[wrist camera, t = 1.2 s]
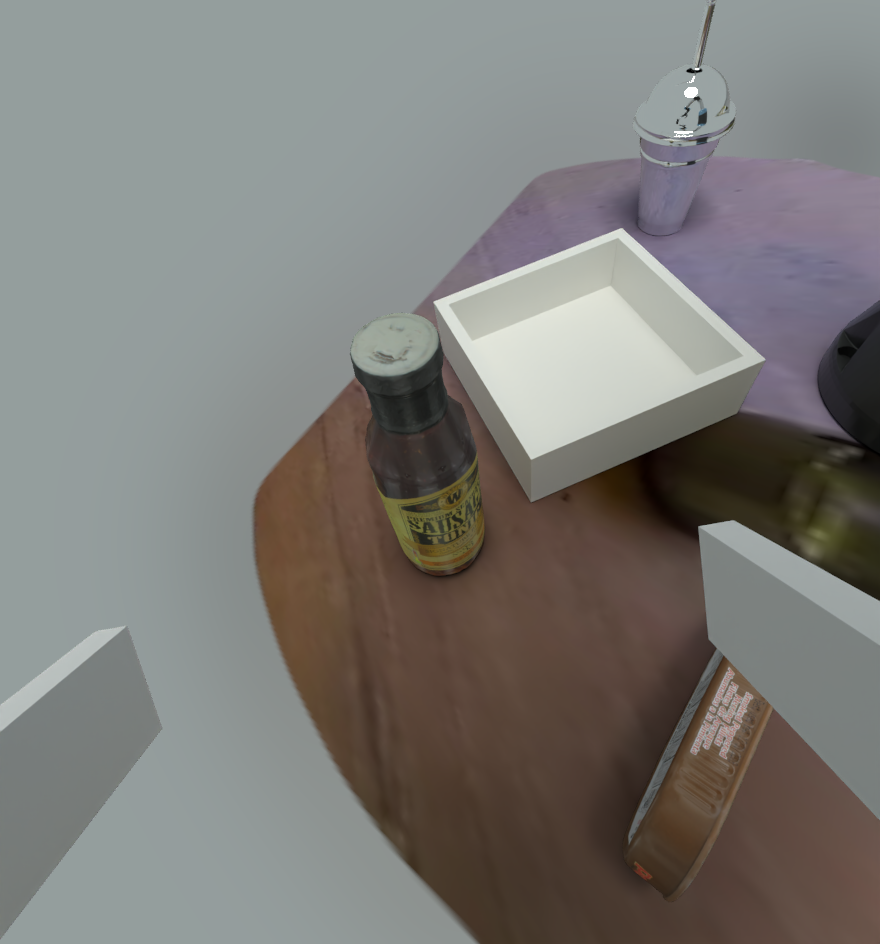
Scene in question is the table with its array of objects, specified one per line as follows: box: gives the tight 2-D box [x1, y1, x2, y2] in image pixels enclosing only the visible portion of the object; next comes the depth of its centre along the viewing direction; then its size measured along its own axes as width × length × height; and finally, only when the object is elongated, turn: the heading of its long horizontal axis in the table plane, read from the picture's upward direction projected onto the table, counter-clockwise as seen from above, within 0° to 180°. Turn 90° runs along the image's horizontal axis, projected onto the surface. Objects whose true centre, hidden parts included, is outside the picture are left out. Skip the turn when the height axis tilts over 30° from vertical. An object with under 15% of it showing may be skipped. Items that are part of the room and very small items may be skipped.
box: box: [434, 228, 766, 502], centre depth 43 cm, size 18×18×6 cm
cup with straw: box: [633, 0, 736, 236], centre depth 46 cm, size 8×9×20 cm
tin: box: [623, 648, 774, 902], centre depth 27 cm, size 15×3×8 cm, turn 143°
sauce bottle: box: [350, 313, 485, 576], centre depth 31 cm, size 7×6×20 cm
